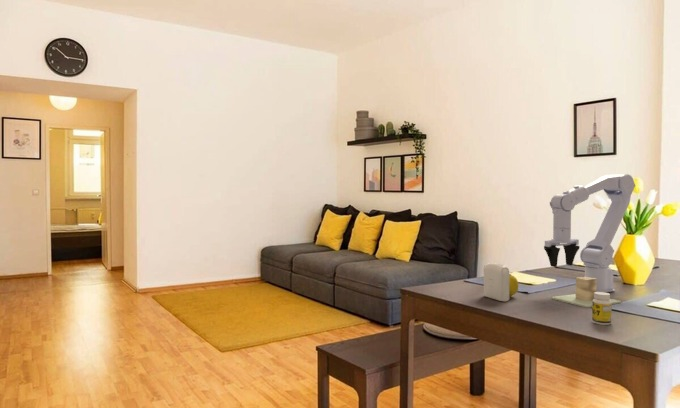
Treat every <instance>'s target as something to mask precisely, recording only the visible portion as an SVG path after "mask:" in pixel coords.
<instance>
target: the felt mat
mask: <svg viewBox="0 0 680 408" xmlns="http://www.w3.org/2000/svg"><path fill="white" fill-rule="evenodd" d="M551 300H555V301H559V302H563V303H567V304H571V305H574V306H578V307H582V308H586V309H588V308H589V309H590V308H592V302H593V300H590V301H585V300H581V299H577V298H576V293H573V294H564V295H558V296H557V295H555V296H551ZM609 300H610V301H611V303H612V304H611V305H616V304H622V301H621V300H618V299H614V298H610V299H609Z"/></svg>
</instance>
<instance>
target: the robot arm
mask: <svg viewBox="0 0 680 408" xmlns="http://www.w3.org/2000/svg"><path fill="white" fill-rule="evenodd" d="M635 187H636V183H635V181H634V178H633V176H632V175H631V174H628V173H625V174H605V175H604V176H600V177H599V178H598V179H596V180H594V181H593V182H590V183H589V184H587V185H585V186H583V185H579V184H578V185H573V188H571V189H569V190H564V191H563V193H561V194H557V193H556V194H555V195H553V197H552V198H551V200H550V201H549V207H550V208H551V209H552V210H551V211H552V215H553V219H552V221H553V223H552V225H553V227H552V229H553V230H552V231H553V232H552V233H553V234H552V238H551V239H549V240H544V246H543V250H545V253H546V255H547V257H548V261H549V264H550V267H554V268H557V267H558V261H559V259H558V258H559V254H560V251H561V247H560V246H563V250H564V254H565V265H567V266H573V263H574V261H575V258H576V255H577V253H578V251H579V250H580V245H579V243H580V242H579V240H580V239H577V238H572V237H571V235H572V234H571V232H572V210H574V208H575V206H577V205H579V204H582V203H583V202H585V201H587V200H588V199H589V197H590V196H591V195H593V194H596V193H597V192H600V191H604V193H605V194H606V196H607V198H608V199H609V200H610V201H611V203H610V205H609V207H608V209H607V212H606V214H605V216H604V218H603V220H602V223H601V224H600V226H599V228H598V231H597V233H596V235H595V237H594V238H593V239H592V240H590V241H588V242H587V244H586V245H585V247H584V248H582V250H580V255H579V257H580V260H581V262H582V263H583V266H584V277H590V278H595V279H597V281H596V292H605V293H609V292H610V293H611V292H616V289H615V288H614V271H613V270H612V268H611V267H610V265H611V264H612V263H613V256H614V252H615V249H614V248H613V247H612V245H611V244H612V242H613V240H614V238H615V235H616V233H617V231H618V229H619V227H620V224H621V223H622V220H623V218H624V216H625V214H626V211H627V209H628V208H629V205H630V202H631V197H632V194H633V191H634V190H635Z"/></svg>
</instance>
